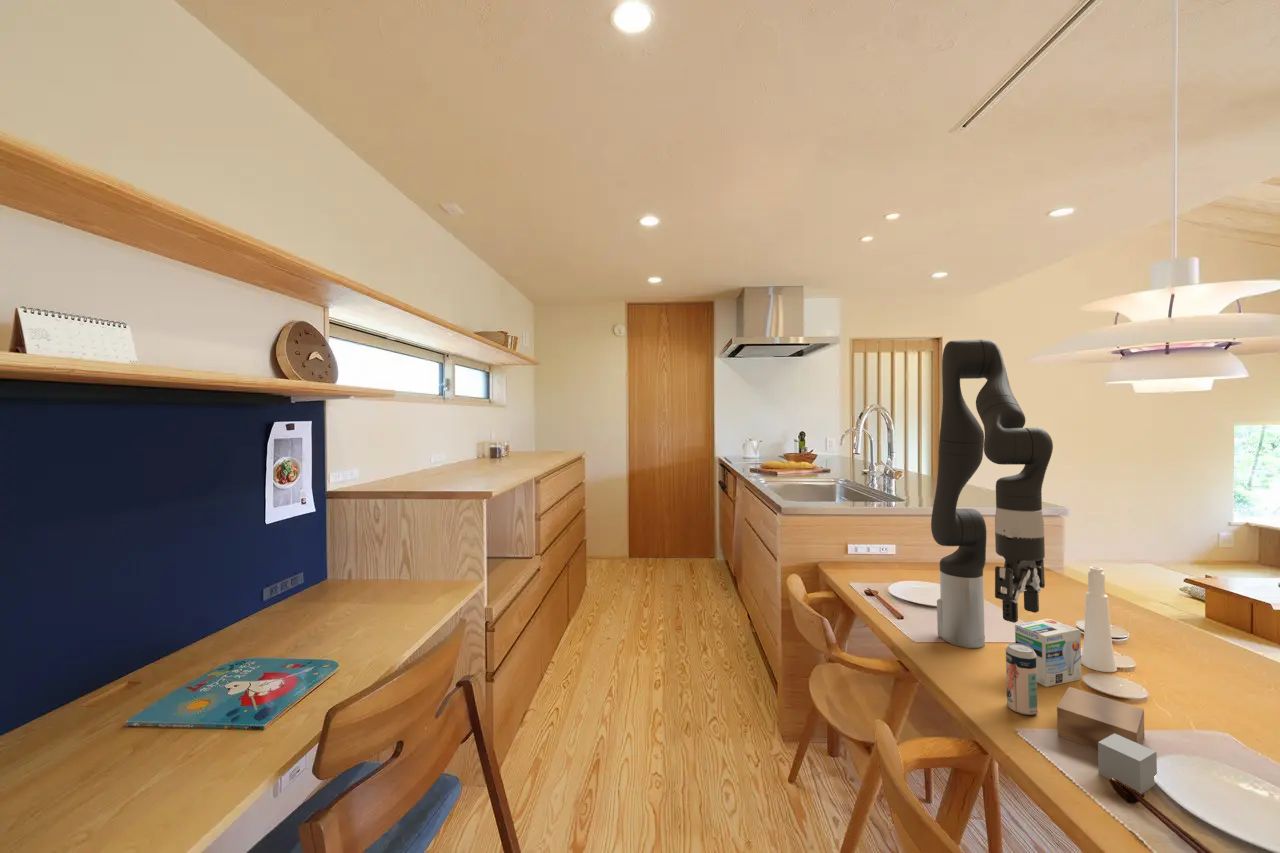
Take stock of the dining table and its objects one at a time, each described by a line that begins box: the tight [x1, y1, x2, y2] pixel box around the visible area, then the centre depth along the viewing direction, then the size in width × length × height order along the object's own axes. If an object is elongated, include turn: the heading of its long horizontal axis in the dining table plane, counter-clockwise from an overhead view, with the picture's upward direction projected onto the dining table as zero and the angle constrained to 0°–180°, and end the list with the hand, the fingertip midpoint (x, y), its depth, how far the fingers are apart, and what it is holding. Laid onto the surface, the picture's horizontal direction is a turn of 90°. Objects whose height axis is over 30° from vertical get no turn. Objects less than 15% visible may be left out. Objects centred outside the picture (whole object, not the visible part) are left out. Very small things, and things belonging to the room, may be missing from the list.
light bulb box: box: [1014, 618, 1082, 688], centre depth 108 cm, size 11×7×11 cm, turn 106°
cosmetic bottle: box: [1081, 566, 1118, 673], centre depth 111 cm, size 6×6×22 cm
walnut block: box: [1056, 686, 1145, 751], centre depth 87 cm, size 10×10×5 cm
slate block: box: [1097, 733, 1158, 795], centre depth 77 cm, size 5×5×5 cm
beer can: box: [1005, 642, 1039, 716], centre depth 96 cm, size 5×5×12 cm
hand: (1021, 616), depth 96 cm, fingers open, 8 cm apart
